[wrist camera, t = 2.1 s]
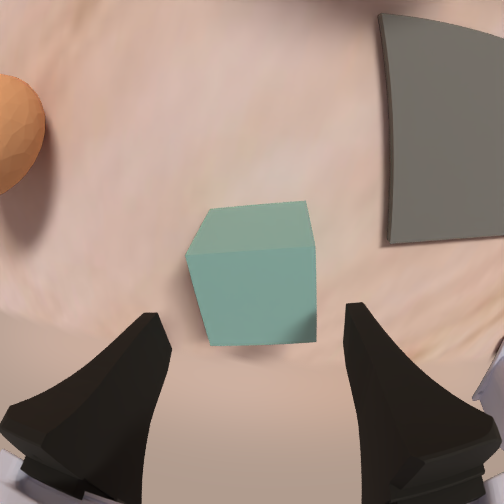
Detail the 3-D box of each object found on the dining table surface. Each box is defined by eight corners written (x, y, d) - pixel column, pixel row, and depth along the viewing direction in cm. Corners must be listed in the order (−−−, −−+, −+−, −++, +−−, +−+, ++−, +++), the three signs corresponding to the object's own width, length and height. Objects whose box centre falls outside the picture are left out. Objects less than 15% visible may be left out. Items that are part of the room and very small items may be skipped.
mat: (532, 228, 15) (537, 232, 14) (386, 238, 16) (390, 243, 16) (542, 55, 9) (548, 56, 8) (377, 15, 11) (381, 13, 10)
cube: (309, 281, 18) (316, 342, 14) (225, 286, 19) (210, 345, 14) (305, 200, 16) (315, 246, 11) (210, 208, 16) (185, 255, 12)
